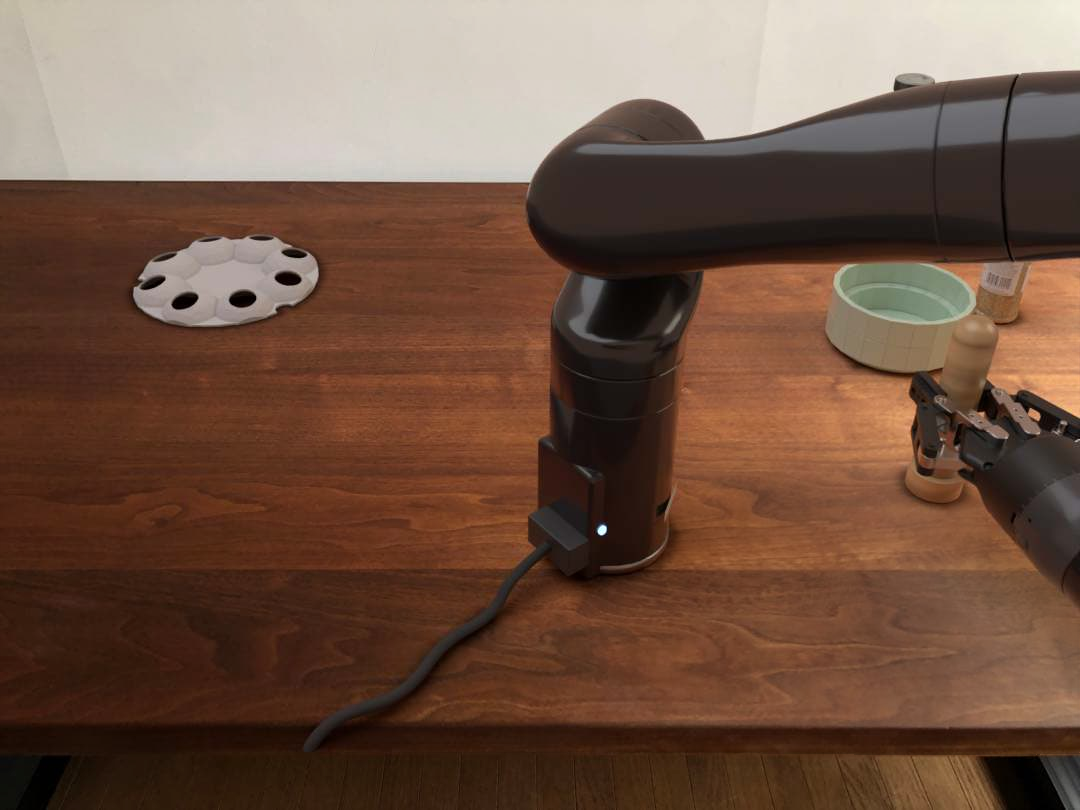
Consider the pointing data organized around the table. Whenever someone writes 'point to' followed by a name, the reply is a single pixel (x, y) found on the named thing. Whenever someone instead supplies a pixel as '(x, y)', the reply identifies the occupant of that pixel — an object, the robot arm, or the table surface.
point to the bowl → (897, 314)
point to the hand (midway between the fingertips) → (938, 378)
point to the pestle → (958, 397)
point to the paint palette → (225, 280)
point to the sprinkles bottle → (1001, 290)
